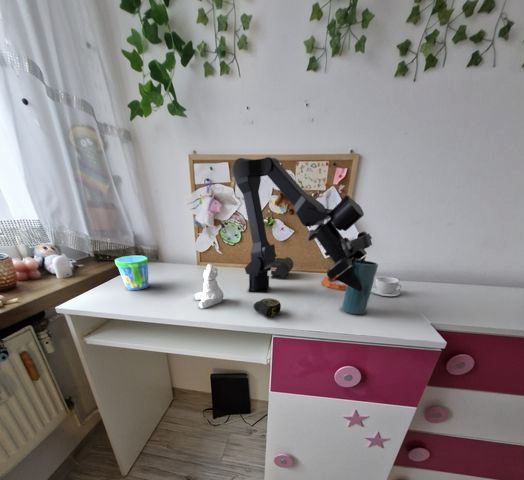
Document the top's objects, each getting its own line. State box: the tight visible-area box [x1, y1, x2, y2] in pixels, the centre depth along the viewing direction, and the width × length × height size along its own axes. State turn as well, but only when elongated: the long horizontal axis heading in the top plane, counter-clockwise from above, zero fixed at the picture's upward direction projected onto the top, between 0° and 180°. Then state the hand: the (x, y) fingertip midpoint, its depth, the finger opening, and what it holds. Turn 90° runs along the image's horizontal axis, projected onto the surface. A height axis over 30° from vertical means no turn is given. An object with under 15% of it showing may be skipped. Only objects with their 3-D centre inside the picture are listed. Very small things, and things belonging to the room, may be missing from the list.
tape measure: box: [253, 298, 282, 318], centre depth 79 cm, size 7×7×4 cm
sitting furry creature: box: [194, 263, 224, 309], centre depth 85 cm, size 10×9×12 cm
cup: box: [341, 260, 379, 315], centre depth 79 cm, size 7×7×14 cm
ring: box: [322, 275, 347, 291], centre depth 104 cm, size 14×14×2 cm
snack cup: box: [114, 255, 149, 291], centre depth 97 cm, size 16×10×10 cm
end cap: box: [270, 256, 294, 280], centre depth 112 cm, size 10×7×7 cm
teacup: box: [371, 276, 403, 297], centre depth 96 cm, size 10×10×5 cm
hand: (364, 286), depth 78 cm, fingers closed on cup, 7 cm apart
